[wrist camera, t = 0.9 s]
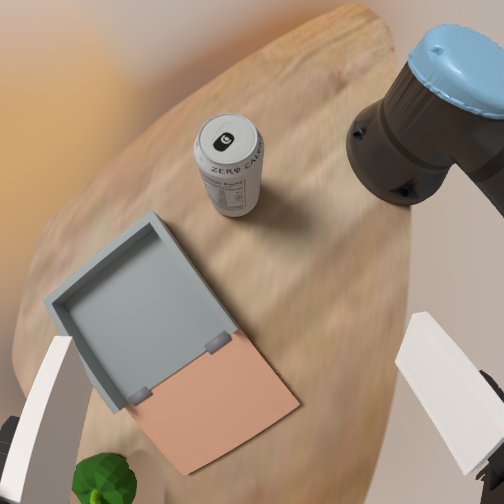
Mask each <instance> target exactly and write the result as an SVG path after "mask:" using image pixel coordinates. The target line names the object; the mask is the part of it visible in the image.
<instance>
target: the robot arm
mask: <svg viewBox="0 0 504 504" xmlns="http://www.w3.org/2000/svg"><path fill="white" fill-rule="evenodd" d="M346 149H347V155H348V159H349V162H350V164H351V167H352V169H353V171H354V172H355V174H356V176H357V177H358V179H359V180H360V181H361V182H362V183H363V185H364V186H365V187H366V188H367V189H368V190H370V191H371V192H372V193H373V194H375V195H376V196H378V197H379V198H381V199H383V200H385V201H387V202H390V203H393V204H397V205H414V204H418V203H420V202H422V201H424V200H426V199H427V198H429V197H430V196H432V195H433V194H434V193H435V192H436V191H437V190H438V189H439V188H440V186H441V185H442V183H443V181H444V179H445V177H446V175H447V173H448V171H449V169H450V167H451V166H452V165H453V164H455V163H456V164H457V165H458V166H459V167H460V168H461V169H462V170H463V171H464V172H465V173H466V174H467V175H468V177H469V178H470V179H471V180H472V181H473V182H474V183H475V184H476V185H477V187H478V188H479V189H480V190H481V191H482V192H483V193H484V194H485V196H486V197H487V198H488V199H489V200H490V201H491V203H492V204H493V205H494V206H495V207H496V209H497V210H498V211H499V212H500V214H501V215H502V216H503V217H504V50H503V49H502V48H501V47H500V46H499V45H497V44H496V43H495V42H493V41H492V40H491V39H489V38H488V37H486V36H484V35H482V34H480V33H479V32H477V31H474V30H472V29H469V28H467V27H461V26H458V25H454V24H443V25H438V26H436V27H433V28H432V29H430V30H429V31H428V32H427V33H426V34H425V35H424V36H423V38H422V39H421V41H420V42H419V43H418V45H416V46H415V47H414V48H413V49H412V50H411V51H410V53H409V58H408V61H407V62H406V64H405V66H404V67H403V69H402V70H401V72H400V73H399V75H398V77H397V78H396V80H395V81H394V83H393V84H392V86H391V87H390V89H389V90H388V92H387V94H386V95H385V97H384V98H382V99H381V100H379V101H377V102H375V103H373V104H372V105H370V106H368V107H366V108H365V109H363V110H362V111H361V112H360V113H359V114H358V115H357V117H356V118H355V120H354V121H353V123H352V125H351V127H350V128H349V131H348V134H347V140H346ZM395 363H396V365H397V366H398V368H399V369H400V371H401V372H402V374H403V376H404V377H405V379H406V380H407V382H408V383H409V385H410V386H411V388H412V389H413V391H414V393H415V394H416V395H417V397H418V399H419V401H420V402H421V403H422V405H423V407H424V409H425V410H426V412H427V413H428V415H429V417H430V418H431V420H432V421H433V423H434V425H435V426H436V428H437V430H438V431H439V433H440V434H441V436H442V438H443V440H444V441H445V443H446V444H447V446H448V448H449V450H450V452H451V453H452V455H453V457H454V458H455V460H456V462H457V464H458V465H459V467H460V469H461V471H462V472H463V474H464V476H466V475H467V474H469V473H471V472H473V471H474V470H476V469H478V468H479V467H480V466H481V465H482V464H483V463H484V462H485V461H486V460H488V461H489V464H488V465H487V466H485V467H484V468H483V469H482V470H481V471H480V472H479V473H478V475H477V476H476V480H478V479H479V478H480V477H481V476H482V475H484V474H485V476H483V478H482V479H481V481H484V486H483V491H482V497H481V503H480V504H504V393H503V391H502V390H501V388H498V385H497V383H496V382H495V381H494V380H493V379H492V377H491V376H489V375H488V374H486V373H485V372H483V371H482V370H480V371H478V370H477V369H476V368H475V366H474V365H473V364H472V363H471V362H470V360H469V359H468V358H467V357H466V356H465V354H464V353H463V352H462V351H461V350H460V349H459V347H458V346H457V345H456V344H455V343H454V342H453V341H452V339H450V337H449V336H448V335H447V334H446V332H445V331H444V330H443V329H442V328H441V327H440V326H439V325H438V323H437V322H436V321H435V320H434V319H433V318H432V317H431V316H430V315H429V314H428V313H427V312H420V313H414V314H413V315H412V318H411V321H410V323H409V326H408V329H407V332H406V334H405V337H404V340H403V342H402V345H401V348H400V350H399V353H398V355H397V358H396V360H395ZM92 389H93V386H92V384H91V382H90V379H89V377H88V375H87V372H86V370H85V368H84V365H83V363H82V360H81V358H80V355H79V353H78V350H77V347H76V345H75V342H74V339H73V337H70V336H55V337H54V339H53V341H52V343H51V345H50V347H49V350H48V352H47V354H46V356H45V358H44V361H43V363H42V365H41V367H40V370H39V372H38V374H37V377H36V379H35V381H34V384H33V386H32V389H31V391H30V394H29V396H28V399H27V401H26V404H25V407H24V409H23V412H22V415H21V417H15V416H10V417H9V418H8V419H7V421H6V422H5V423H4V424H3V426H2V427H1V430H0V504H70V496H71V489H72V483H73V477H74V471H75V465H76V460H77V455H78V449H79V444H80V440H81V435H82V430H83V426H84V421H85V417H86V413H87V408H88V404H89V400H90V396H91V392H92Z"/></svg>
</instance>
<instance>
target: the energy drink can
mask: <svg viewBox="0 0 504 504" xmlns="http://www.w3.org/2000/svg"><path fill="white" fill-rule="evenodd" d="M194 155H195V159H196V162H197V165H198V167H199V170H200V173H201V176H202V178H203V181H204V184H205V187H206V189H207V192H208V195H209V198H210V200H211V203H212V205H213V206H214V208H215V209H216V210H217V211H218V212H220V213H221V214H223V215H226V216H230V217H238V216H242V215H245V214H247V213H248V212H250V211H251V210H252V209H253V208H254V207H255V205H256V204H257V202H258V199H259V193H260V183H261V174H262V165H263V155H264V142H263V138H262V136H261V134H260V132H259V131H258V130H257V128H256V127H255V126H254V125H253V124H252V122H251V121H250V120H248V119H247V118H246V117H244V116H242V115H239V114H234V113H224V114H219V115H217V116H214V117H212V118H211V119H209V120H208V121H207V122H206V123H205V124H204V125H203V126H202V128H201V130H200V132H199V134H198V136H197V138H196V140H195V144H194Z"/></svg>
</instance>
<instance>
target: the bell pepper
mask: <svg viewBox="0 0 504 504" xmlns="http://www.w3.org/2000/svg"><path fill="white" fill-rule="evenodd" d="M136 488H137V480H136V477H135V474H134V472H133V471H132V470H130V469H129V465H128V463H127V462H126V460H125V459H124V458H122V457H120V456H118V455H116V454H114V453H101V454H98V455H95V456H92V457H89V458H87V459H84V460H82V461H81V462H80V463H79V464H77V465H76V470H75V471H74V477H73V483H72V489H71V490H72V491H73V492H74V493H75V494H76V496H77V497H78V499H79V500H80V502H81V503H82V504H131V503H132V502H133V500H134V498H135V494H136Z"/></svg>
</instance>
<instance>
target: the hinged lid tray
mask: <svg viewBox="0 0 504 504" xmlns="http://www.w3.org/2000/svg"><path fill="white" fill-rule="evenodd" d="M43 302H44V304H45V306H46V308H47V310H48V312H49V314H50V316H51V317H52V319H53V321H54V323H55V325H56V327H57V328H58V330H59V332H60V334H61V335H62V336H70V337H73V339H74V342H75V345H76V347H77V350H78V353H79V355H80V358H81V360H82V363H83V365H84V368H85V370H86V372H87V375H88V377H89V379H90V382H91V383H92V385H93V386H94V388H95V389H96V390H97V392H98V393H99V395H100V396H101V398H102V399H103V400H104V402H105V403H106V404H107V406H108V407H109V408H110V410H111V411H112V412H113V414H115V413H117V412H119V411H120V410H121V409H122V408H124V407H125V409H126V410H127V411H128V412H129V414H130V415H131V416H132V418H133V419H134V420H135V421H136V423H137V424H138V425H139V426H140V428H141V429H142V430H143V431H144V432H145V434H146V435H147V436H148V437H149V438H150V439H151V441H152V442H153V443H154V444H155V445H156V446H157V448H158V449H159V450H160V451H161V452H162V453H163V454H164V455H165V456H166V458H167V459H168V460H169V461H170V462H171V463H172V464H173V465H174V466H175V467H176V468H177V469H178V470H179V471H180V472H181V473H182V475H183V476H185V475H187V474H189V473H191V472H193V471H195V470H197V469H199V468H200V467H202V466H204V465H206V464H208V463H210V462H211V461H213V460H215V459H217V458H218V457H220V456H222V455H224V454H225V453H227V452H229V451H230V450H232V449H234V448H235V447H237V446H239V445H240V444H242V443H244V442H245V441H247V440H248V439H250V438H252V437H253V436H255V435H256V434H258V433H259V432H261V431H263V430H264V429H266V428H267V427H269V426H270V425H272V424H273V423H275V422H276V421H278V420H279V419H281V418H282V417H283V416H285V415H286V414H288V413H289V412H291V411H292V410H293V409H295V408H296V407H298V406H299V405H300V403H299V401H298V400H297V399H296V397H295V396H294V395H293V394H292V393H291V391H290V390H289V389H288V388H287V386H286V385H285V384H284V383H283V382H282V380H281V379H280V378H279V377H278V375H277V374H276V373H275V372H274V370H273V369H272V368H271V367H270V365H269V364H268V363H267V361H266V360H265V359H264V358H263V356H262V355H261V354H260V353H259V351H258V350H257V349H256V347H255V346H254V345H253V344H252V342H251V341H250V340H249V338H248V337H247V336H246V335H245V333H244V332H243V331H242V329H241V328H240V327H239V325H238V324H237V323H236V321H235V320H234V319H233V317H232V316H231V315H230V313H229V312H228V311H227V309H226V308H225V307H224V305H223V304H222V303H221V301H220V300H219V299H218V297H217V296H216V295H215V293H214V292H213V291H212V289H211V288H210V286H209V285H208V284H207V282H206V281H205V280H204V278H203V277H202V275H201V274H200V273H199V271H198V270H197V269H196V267H195V266H194V264H193V263H192V262H191V260H190V259H189V257H188V256H187V255H186V253H185V252H184V250H183V249H182V247H181V246H180V245H179V243H178V242H177V240H176V239H175V237H174V236H173V235H172V233H171V232H170V230H169V229H168V227H167V226H166V224H165V223H164V221H163V220H162V219H161V218H160V217H159V216H158V215H157V214H156V213H155V212H154V211H153V210H151V211H150V212H149V213H147V214H146V215H145V216H143V217H142V218H141V219H140V220H138V221H137V222H136V223H134V224H133V225H132V226H131V227H129V228H128V229H127V230H126V231H124V232H123V233H122V234H120V235H119V236H118V237H117V238H116V239H114V240H113V241H112V242H111V243H109V244H108V245H107V246H106V247H104V248H103V249H102V250H101V251H100V252H98V253H97V254H96V255H95V256H94V257H92V258H91V259H90V260H89V261H88V262H87V263H85V264H84V265H83V266H82V267H81V268H79V269H78V270H77V271H76V272H75V273H74V274H73V275H71V276H70V277H69V278H68V279H67V280H66V281H65V282H64V283H62V284H61V285H60V286H59V287H58V288H57V289H56V290H55V291H54V292H52V293H51V294H50V295H49V296H48V297H47V298H46V299H45V300H44V301H43Z"/></svg>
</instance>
